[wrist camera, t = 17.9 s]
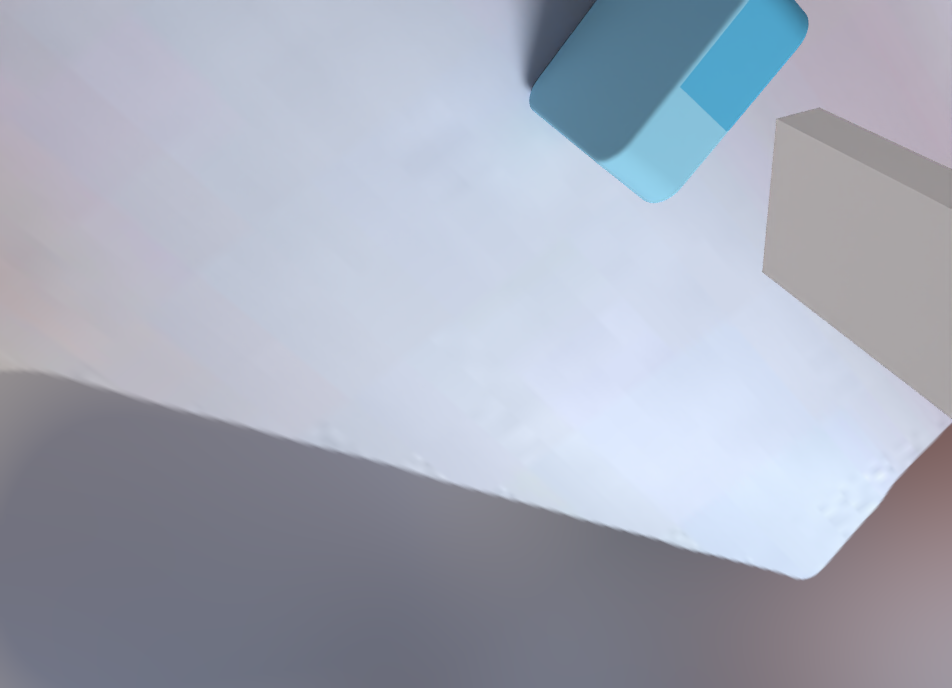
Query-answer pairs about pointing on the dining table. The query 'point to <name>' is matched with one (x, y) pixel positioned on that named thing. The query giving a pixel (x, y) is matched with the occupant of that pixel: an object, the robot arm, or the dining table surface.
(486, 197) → the dining table surface
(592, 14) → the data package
